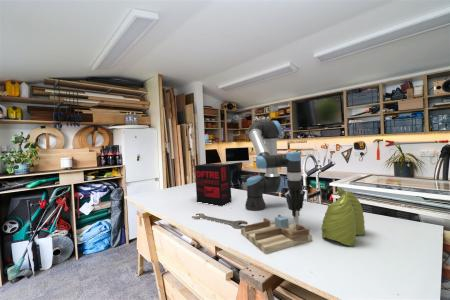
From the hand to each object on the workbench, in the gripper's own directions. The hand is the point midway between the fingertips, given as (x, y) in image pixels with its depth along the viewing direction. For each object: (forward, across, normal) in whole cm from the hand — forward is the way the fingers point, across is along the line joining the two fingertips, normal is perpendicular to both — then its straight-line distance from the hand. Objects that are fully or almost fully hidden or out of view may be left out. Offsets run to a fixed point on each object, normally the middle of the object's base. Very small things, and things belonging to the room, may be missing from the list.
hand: (296, 221), depth 119 cm
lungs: (+5, -15, +17) cm, 23 cm away
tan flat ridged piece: (+5, +16, +2) cm, 16 cm away
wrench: (+5, +33, -35) cm, 49 cm away
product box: (+5, +21, -78) cm, 81 cm away
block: (+2, +9, -1) cm, 9 cm away
